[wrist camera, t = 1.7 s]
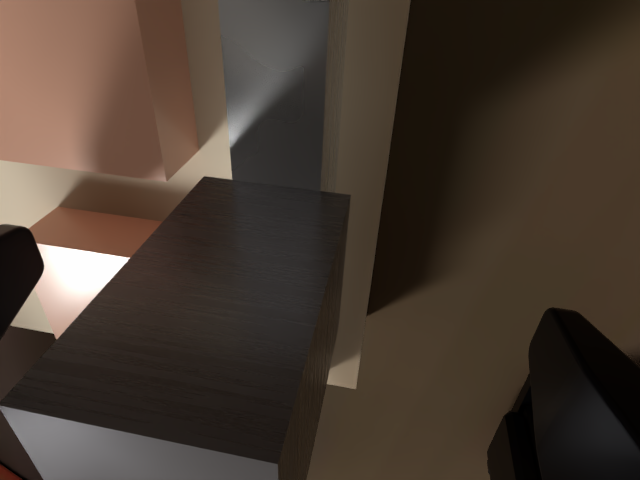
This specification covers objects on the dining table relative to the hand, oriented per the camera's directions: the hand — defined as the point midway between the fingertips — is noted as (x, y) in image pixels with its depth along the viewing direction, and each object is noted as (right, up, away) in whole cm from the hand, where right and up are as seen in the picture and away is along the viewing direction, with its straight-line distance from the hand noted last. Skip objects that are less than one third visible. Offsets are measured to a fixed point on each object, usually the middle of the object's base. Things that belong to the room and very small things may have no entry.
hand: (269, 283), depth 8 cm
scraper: (0, +1, +2) cm, 3 cm away
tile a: (-4, +5, +1) cm, 6 cm away
